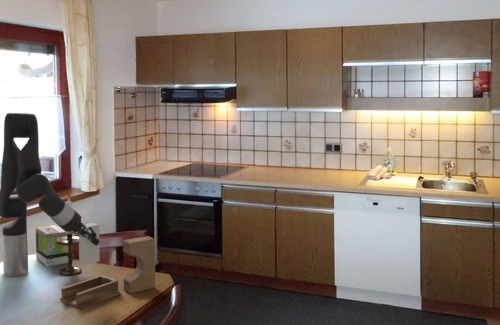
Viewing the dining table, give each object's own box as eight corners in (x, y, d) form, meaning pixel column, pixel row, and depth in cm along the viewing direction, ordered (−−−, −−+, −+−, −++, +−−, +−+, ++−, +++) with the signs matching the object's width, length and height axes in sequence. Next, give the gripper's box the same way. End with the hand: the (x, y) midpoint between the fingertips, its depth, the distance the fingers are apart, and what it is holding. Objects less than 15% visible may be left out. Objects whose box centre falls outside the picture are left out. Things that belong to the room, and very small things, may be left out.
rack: (59, 300, 194) (59, 287, 194) (99, 286, 209) (99, 274, 208) (80, 308, 187) (80, 295, 187) (120, 293, 202) (120, 281, 201)
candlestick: (88, 268, 229) (86, 189, 225) (77, 277, 219) (75, 193, 214) (64, 267, 231) (62, 188, 226) (52, 275, 220) (49, 192, 215)
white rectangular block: (79, 262, 195) (78, 225, 193) (92, 258, 200) (92, 222, 198) (86, 265, 193) (85, 227, 191) (99, 261, 197) (99, 224, 196)
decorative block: (129, 294, 202) (128, 243, 199) (123, 289, 206) (122, 239, 203) (155, 288, 208) (155, 239, 206) (149, 284, 213) (148, 235, 210)
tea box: (69, 263, 236) (68, 230, 234) (46, 267, 230) (45, 234, 228) (57, 254, 248) (57, 223, 246) (35, 258, 242) (34, 226, 240)
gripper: (83, 210, 183) (112, 237, 195) (59, 204, 192) (87, 230, 203) (70, 228, 180) (100, 254, 191) (46, 221, 188) (76, 247, 199)
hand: (93, 242), depth 197 cm, fingers closed on white rectangular block, 4 cm apart
